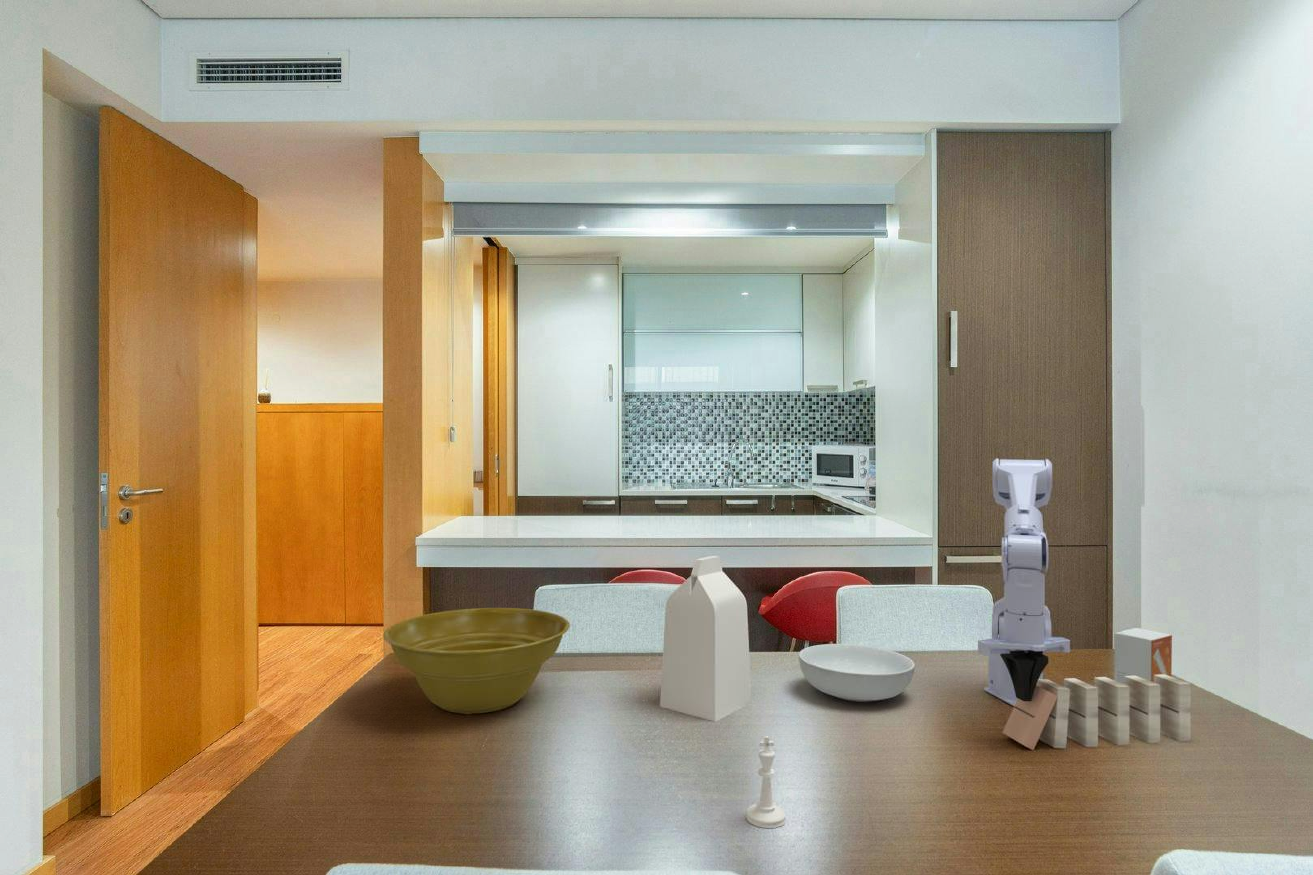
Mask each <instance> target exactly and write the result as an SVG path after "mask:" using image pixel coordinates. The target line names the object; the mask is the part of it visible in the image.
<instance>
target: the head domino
mask: <svg viewBox="0 0 1313 875" xmlns="http://www.w3.org/2000/svg"><path fill="white" fill-rule="evenodd" d="M1057 697H1058V696H1056V695H1054V694H1052V693H1050V692H1049V691H1047V690H1044V689H1042V688H1040V687H1038V686H1036V687H1035V690H1034V694H1033V697H1032V701H1022V700H1020V699H1018V700H1017V702H1016V704H1015V706H1013V709H1012V711H1011V713H1010V714H1009V717H1008V720H1007V722H1006V724H1005V726H1004V728H1003V730H1002V733H1003V734H1004V735H1006V736H1008V737H1010V739H1012V740H1014V741H1016V742H1018V743H1019V744H1021V745H1023V746H1024V747H1026V748H1028V749H1030V750H1032V751H1034V750H1035V747H1036V746H1037V743H1038V741H1039V737H1040V734H1041V732H1042V730H1043V728H1044V726H1045V723H1046V721H1047V719H1048V717H1049V715H1050V712H1051V710H1052V708H1053V706H1054V704H1055V701H1056V699H1057Z"/></svg>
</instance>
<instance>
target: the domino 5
mask: <svg viewBox="0 0 1313 875" xmlns="http://www.w3.org/2000/svg"><path fill="white" fill-rule="evenodd" d="M1154 683H1156V684H1158V685H1160V734H1162V735H1165V736H1166V737H1169V738H1171V739H1173V740H1176V741H1177V740H1178V742H1190V741H1192V740H1191V738H1192V735H1191V732H1192V731H1191V730H1192V729H1191V728H1192V727H1191V716H1192V714H1191V713H1192V712H1191V711H1192V709H1191V706H1192V705H1191V702H1192V700H1191V698H1192V696H1191V695H1192V692H1191V691H1192V689H1191V688H1192V687H1191V683H1190V682H1187V681H1184V680H1181V679H1179V678H1175V677H1173V676H1172V675H1171V676H1168V675H1165V674H1160V675H1154Z"/></svg>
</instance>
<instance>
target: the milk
mask: <svg viewBox="0 0 1313 875" xmlns="http://www.w3.org/2000/svg"><path fill="white" fill-rule="evenodd" d="M664 610H665V613H664V615H665V616H664V630H663V645H662V646H663V647H662V664H661V665H662V667H661V683H660V697H659V698H660V699H659V700H660V701H659V707H660V708H665V709H668V710H671V711H675V712H679V713H683V714H686V715H690V716H693V717H697V718H699V719H700V718H701V719H703V720H708V721H712V722H717V721H719V720H721V719H723V718H725V717H727V716H729V715H731V714H732V713H735V712H736V711H738V710H740V709H741V708H745V707H746V706H748V705H749V704H752V687H751V682H752V681H751V666H750V663H751V662H750V661H751V660H750V644H749V643H750V642H749V641H750V640H749V622H748V604H747V599H746V597H745V596H744V594H743V592H742V591H741V590H740V588H738V587H737V585H736V584H735V583H734V582H733V581H732V580H731V579H730V578H729V576H727V574H726V573H725V572H724V571H723V567H722V561H721V557H720V556H719V555H711V556H705V557H700V558H695V559H694V563H693V566H692V570H691V573H690V576H689V577H688V578H687V579H685V581H683V583H682V584H680V586H678V587H677V588H676V589H675V590H674V591H673V592H672V593H671V594H670V596H669V597H668V599H667V600H666V603H665V609H664Z"/></svg>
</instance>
